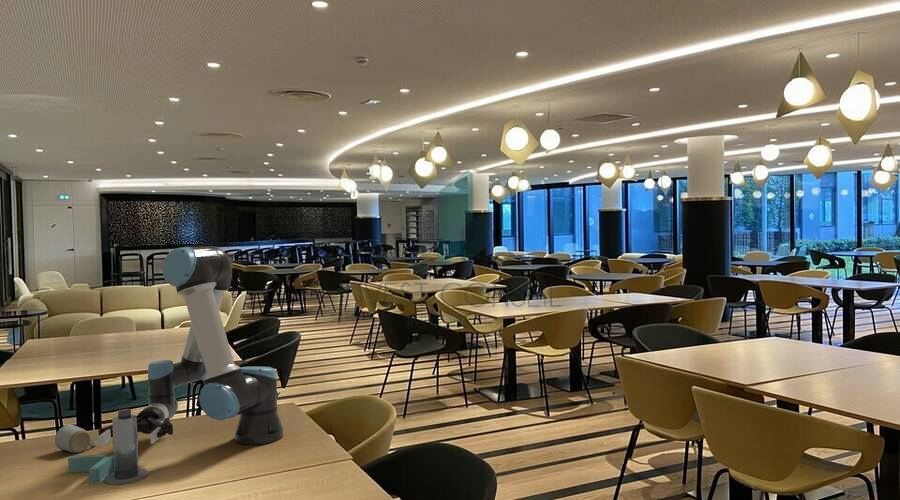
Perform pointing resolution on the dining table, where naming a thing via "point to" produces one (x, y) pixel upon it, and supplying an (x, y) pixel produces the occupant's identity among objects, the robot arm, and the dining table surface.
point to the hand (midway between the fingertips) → (125, 440)
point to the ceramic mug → (73, 439)
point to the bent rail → (92, 466)
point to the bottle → (125, 445)
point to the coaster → (112, 481)
